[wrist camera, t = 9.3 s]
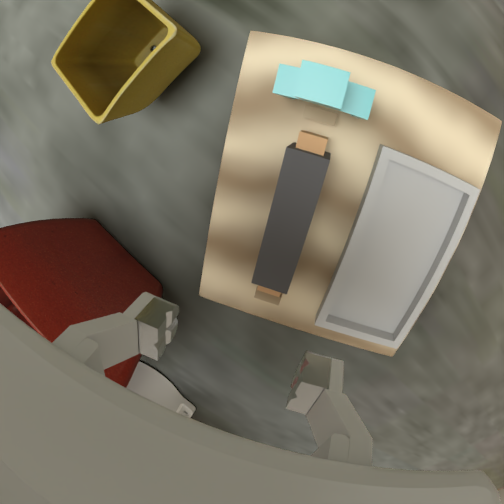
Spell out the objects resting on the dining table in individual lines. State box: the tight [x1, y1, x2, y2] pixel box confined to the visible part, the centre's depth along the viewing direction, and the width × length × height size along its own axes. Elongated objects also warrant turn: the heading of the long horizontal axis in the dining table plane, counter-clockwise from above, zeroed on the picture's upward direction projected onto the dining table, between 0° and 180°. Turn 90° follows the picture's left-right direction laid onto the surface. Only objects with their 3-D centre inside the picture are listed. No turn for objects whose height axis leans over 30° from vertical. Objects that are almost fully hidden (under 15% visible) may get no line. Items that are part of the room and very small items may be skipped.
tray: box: [314, 144, 480, 349], centre depth 24 cm, size 17×9×2 cm, turn 168°
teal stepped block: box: [272, 60, 376, 120], centre depth 16 cm, size 2×6×8 cm, turn 78°
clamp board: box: [199, 31, 502, 357], centre depth 24 cm, size 26×22×3 cm
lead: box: [251, 130, 331, 297], centre depth 23 cm, size 13×3×4 cm, turn 168°
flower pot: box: [51, 0, 201, 124], centre depth 19 cm, size 9×9×9 cm
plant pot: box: [0, 218, 163, 388], centre depth 29 cm, size 19×19×17 cm
